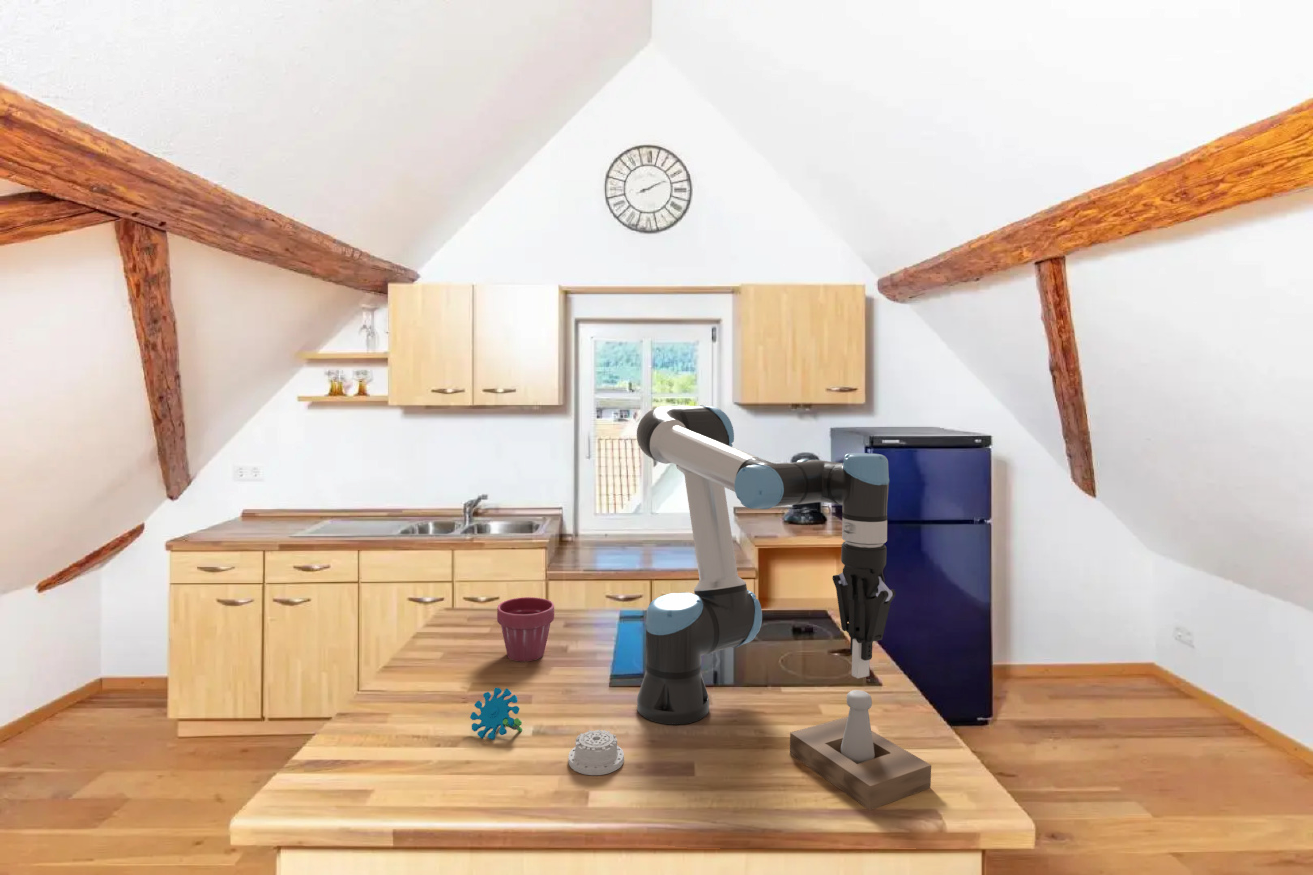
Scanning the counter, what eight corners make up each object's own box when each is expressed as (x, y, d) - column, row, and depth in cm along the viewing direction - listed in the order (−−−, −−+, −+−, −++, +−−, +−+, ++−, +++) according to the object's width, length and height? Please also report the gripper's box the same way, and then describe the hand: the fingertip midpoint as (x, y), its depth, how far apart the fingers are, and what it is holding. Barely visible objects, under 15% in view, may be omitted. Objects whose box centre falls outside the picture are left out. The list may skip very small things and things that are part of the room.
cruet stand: (789, 753, 131) (790, 732, 131) (846, 736, 138) (847, 716, 138) (869, 810, 114) (870, 786, 113) (930, 787, 120) (931, 765, 120)
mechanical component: (611, 781, 122) (632, 753, 131) (611, 756, 121) (632, 730, 131) (558, 771, 125) (582, 744, 134) (558, 746, 125) (582, 721, 134)
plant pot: (549, 666, 171) (549, 614, 170) (491, 665, 171) (490, 613, 171) (558, 645, 186) (558, 597, 185) (504, 644, 186) (504, 596, 185)
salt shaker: (875, 775, 122) (878, 702, 121) (841, 771, 123) (843, 698, 123) (872, 758, 128) (874, 687, 127) (839, 754, 129) (841, 684, 128)
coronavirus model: (458, 725, 138) (488, 678, 143) (472, 736, 142) (501, 690, 147) (500, 748, 132) (530, 699, 137) (513, 759, 136) (542, 711, 141)
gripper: (821, 537, 127) (818, 666, 128) (876, 552, 116) (872, 693, 117) (853, 534, 131) (849, 659, 132) (908, 547, 119) (904, 685, 121)
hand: (860, 675), depth 125 cm, fingers closed
